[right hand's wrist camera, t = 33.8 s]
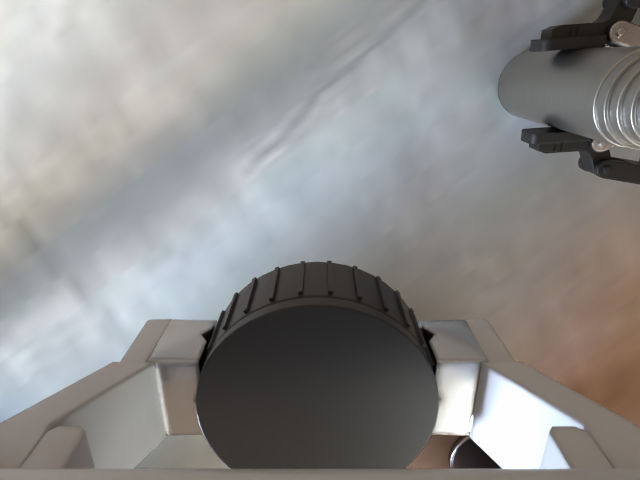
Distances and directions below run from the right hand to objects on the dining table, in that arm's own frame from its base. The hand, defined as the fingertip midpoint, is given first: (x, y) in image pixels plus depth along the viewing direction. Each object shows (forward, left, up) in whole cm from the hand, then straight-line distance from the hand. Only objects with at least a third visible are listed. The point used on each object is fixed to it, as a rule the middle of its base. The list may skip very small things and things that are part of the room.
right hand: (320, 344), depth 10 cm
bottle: (+8, +15, -28) cm, 33 cm away
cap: (0, 0, +2) cm, 2 cm away
